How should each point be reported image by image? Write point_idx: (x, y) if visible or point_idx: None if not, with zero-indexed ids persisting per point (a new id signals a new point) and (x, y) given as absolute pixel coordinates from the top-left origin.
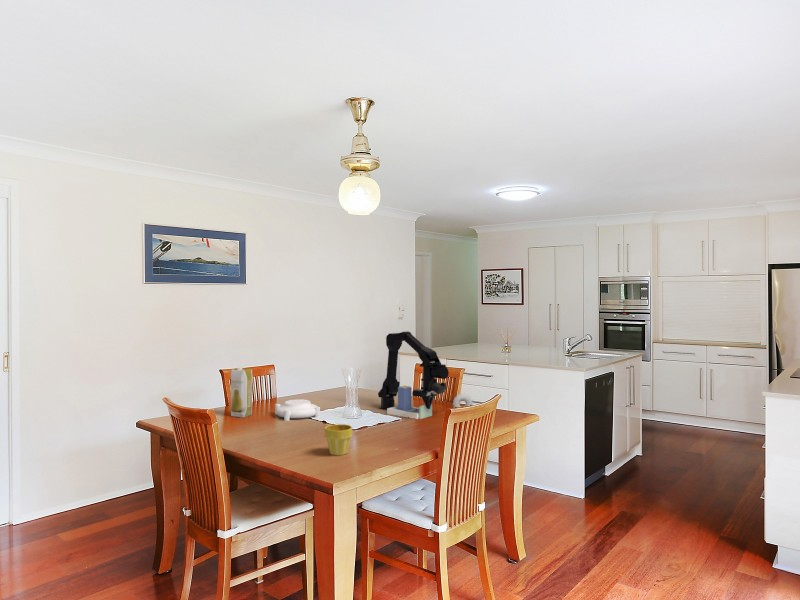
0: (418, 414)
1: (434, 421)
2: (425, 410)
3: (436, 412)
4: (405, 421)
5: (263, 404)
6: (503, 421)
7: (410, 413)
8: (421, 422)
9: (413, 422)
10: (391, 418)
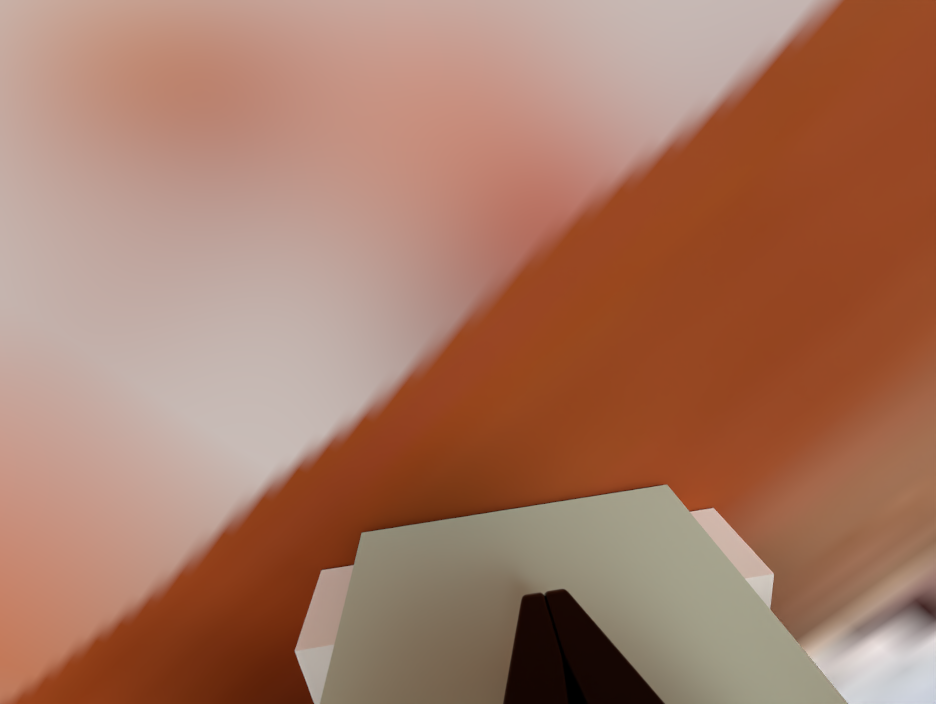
0: None
1: (648, 209)
2: None
3: (127, 652)
4: (931, 504)
5: None
6: None
7: None
8: (859, 310)
9: (929, 392)
10: (874, 700)
